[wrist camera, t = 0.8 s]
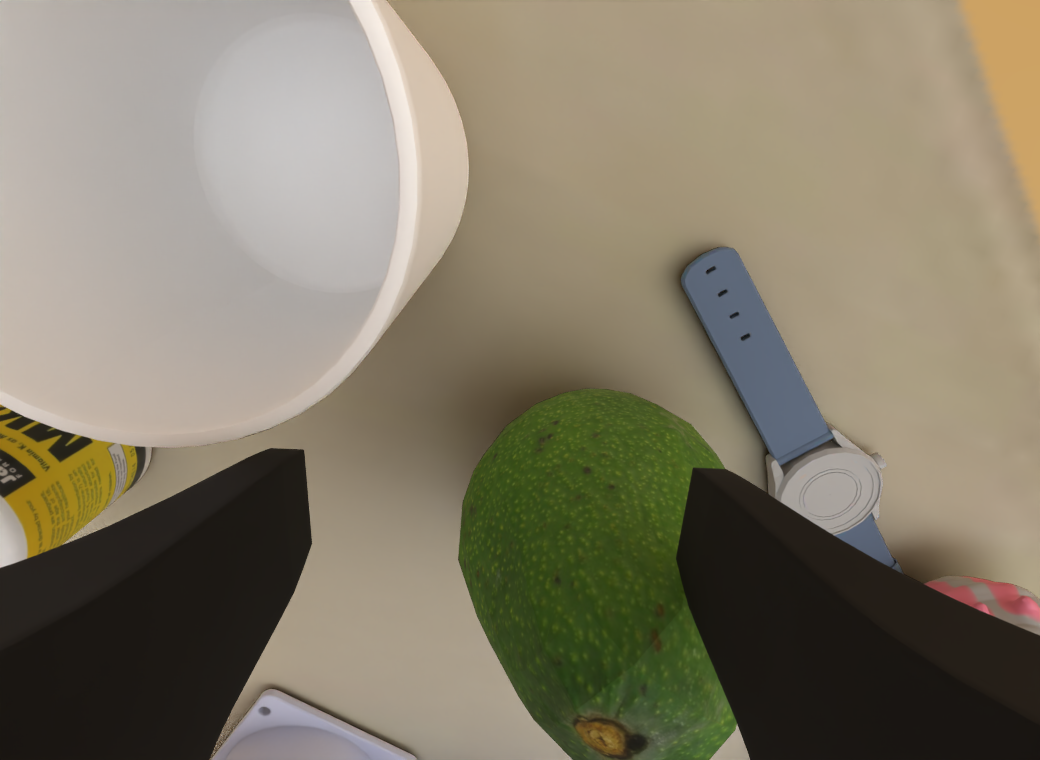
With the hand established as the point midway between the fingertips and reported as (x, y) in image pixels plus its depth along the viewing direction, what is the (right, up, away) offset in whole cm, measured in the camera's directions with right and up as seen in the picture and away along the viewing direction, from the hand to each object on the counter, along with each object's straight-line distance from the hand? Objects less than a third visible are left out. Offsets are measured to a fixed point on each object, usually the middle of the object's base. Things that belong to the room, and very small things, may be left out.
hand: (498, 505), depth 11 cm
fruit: (+3, 0, +11) cm, 11 cm away
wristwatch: (+12, -1, +11) cm, 16 cm away
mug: (-6, +10, +7) cm, 14 cm away
